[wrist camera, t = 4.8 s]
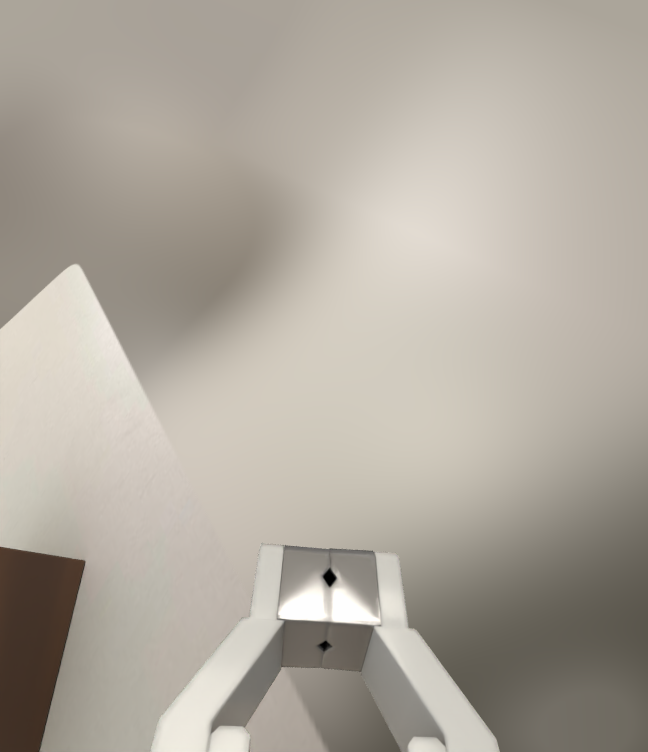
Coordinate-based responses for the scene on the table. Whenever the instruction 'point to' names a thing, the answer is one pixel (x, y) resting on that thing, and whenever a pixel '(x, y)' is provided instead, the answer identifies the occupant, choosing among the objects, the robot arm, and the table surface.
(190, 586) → the table surface
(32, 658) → the control box
